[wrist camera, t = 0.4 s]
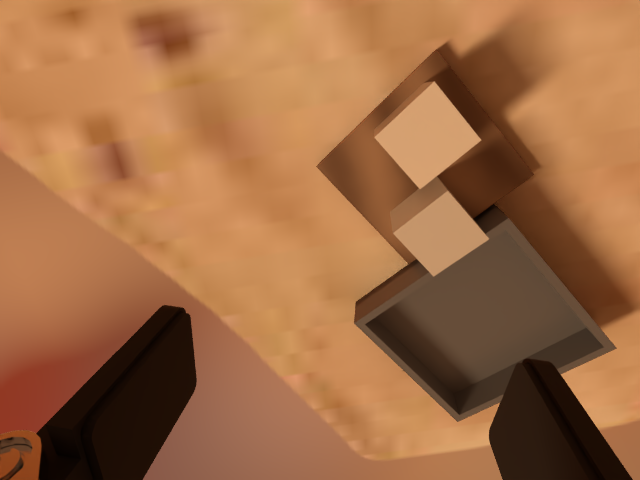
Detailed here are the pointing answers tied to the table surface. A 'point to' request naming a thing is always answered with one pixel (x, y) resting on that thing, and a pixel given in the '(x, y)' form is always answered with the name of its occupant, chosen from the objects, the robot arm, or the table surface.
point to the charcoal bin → (479, 320)
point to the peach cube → (425, 134)
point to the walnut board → (460, 177)
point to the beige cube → (436, 227)
